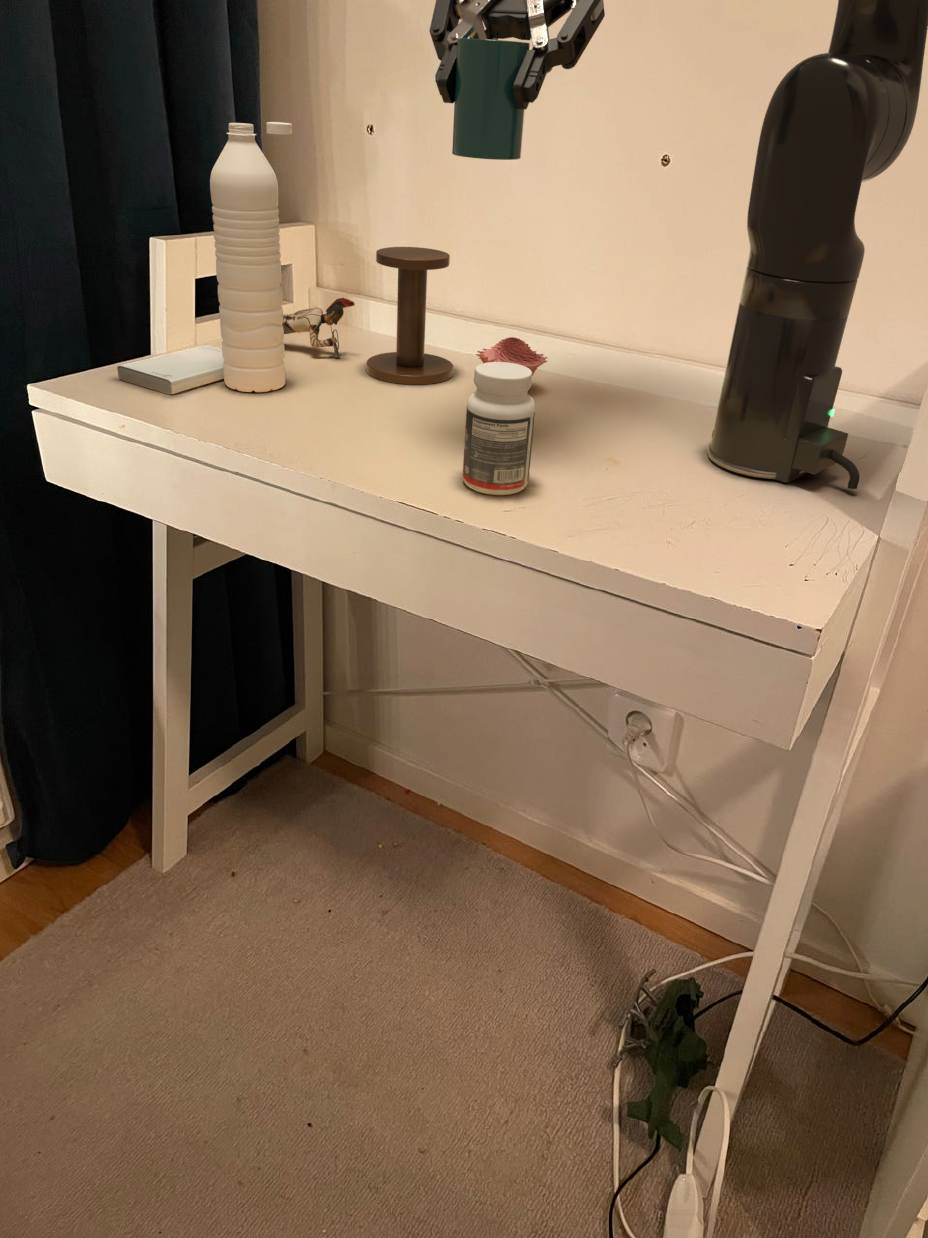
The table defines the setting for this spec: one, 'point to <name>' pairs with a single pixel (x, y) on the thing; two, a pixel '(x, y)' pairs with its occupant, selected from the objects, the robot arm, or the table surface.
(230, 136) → the water bottle
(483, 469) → the pill bottle
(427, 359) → the pedestal stand
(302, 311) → the figurine
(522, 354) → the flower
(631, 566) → the table surface
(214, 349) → the hard drive
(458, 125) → the cylinder
